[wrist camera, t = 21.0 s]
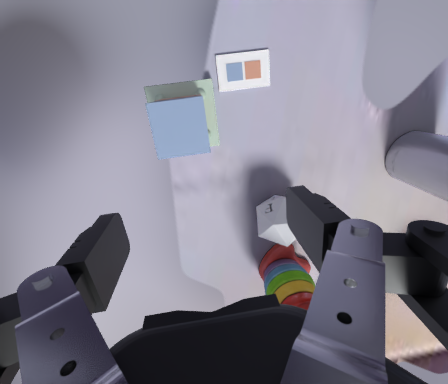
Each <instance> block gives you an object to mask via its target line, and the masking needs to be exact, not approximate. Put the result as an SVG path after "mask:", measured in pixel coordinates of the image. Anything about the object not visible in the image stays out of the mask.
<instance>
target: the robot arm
mask: <svg viewBox="0 0 448 384" xmlns="http://www.w3.org/2000/svg"><path fill="white" fill-rule="evenodd" d="M385 165H386V169H387V172H388V173H389V174H390V176H392V177H394V178H396V179H398V180H400V181H403V182H405V183H407V184H409V185H411V186H414V187H416V188H418V189H421V190H423V191H425V192H427V193H430V194H432V195H434V196H437V197H439V198H441V199H443V200H446V201H448V136H443V135H438V134H433V133H427V132H422V131H412V132H409V133H406V134H404V135H403V136H401V137H400V138H398V139H397V140H396V141H395V142H394V143H393V144H392V146H391V147H390V149H389V151H388V153H387V156H386V162H385ZM286 219H287V224H288V227H289V229H290V230H291V232H292V233H293V235H294V236H295V238H296V239H297V241H298V242H299V244H300V245H301V246H302V248H303V249H304V251H305V252H306V254H307V255H308V257H309V258H310V260H311V261H312V263H313V264H314V266H315V267H316V269H317V270H318V271H319V273H320V274H319V277H318V280H317V283H316V286H315V289H314V292H313V295H312V299H311V302H310V305H309V308H308V310H306V309H303V308H300V307H296V306H293V305H287V304H280V303H279V301H278V298H277V296H276V294H270V295H264V296H258V297H253V298H247V299H243V300H240V301H238V302H236V303H233V304H231V305H228V306H226V307H223V308H221V309H219V310H216V311H213V312H198V311H172V312H167V313H160V314H155V315H149V316H145V319H144V324H143V328H141V329H139V330H137V331H135V332H133V333H131V334H129V335H128V336H126V337H125V338H123V339H122V340H120V341H119V342H118V343H116V344H115V345H114V346H113V347H112V348H110V349H109V348H108V346H107V344H106V342H105V340H104V339H103V337H102V335H101V333H100V331H99V329H98V327H97V325H96V323H95V321H94V319H93V318H92V316H91V315H92V313H97V312H102V311H106V309H107V307H108V304H109V302H110V299H111V297H112V294H113V292H114V289H115V287H116V285H117V282H118V279H119V277H120V275H121V272H122V270H123V267H124V265H125V262H126V260H127V257H128V255H129V252H130V244H129V240H128V236H127V234H126V230H125V227H124V224H123V221H122V218H121V216H120V214H119V213H112V214H105V215H101V216H99V218H98V219H97V220H96V222H95V223H94V224H93V225H92V227H89V228H88V229H87V230H85V231H84V232H83V233H81V234H80V235H79V236H78V238H77V239H76V240H75V243H73V244H72V245H71V246H70V249H68V250H67V251H66V253H65V254H64V255H63V256H62V258H61V259H60V260H59V261H58V262H57V264H56V265H55V266H51V267H47V268H44V269H42V270H40V271H38V272H36V273H34V274H32V275H31V276H29V277H28V278H26V279H25V280H24V281H23V282H22V283H21V284H20V285H19V287H18V289H17V293H14V294H11V295H8V296H6V297H3V298H0V384H11V382H12V381H13V379H14V377H15V375H16V374H17V372H18V370H19V368H20V372H21V379H22V384H427V383H426V382H424V381H423V380H421V379H419V378H418V377H416V376H415V375H413V374H411V373H410V372H408V371H407V370H405V369H403V368H402V367H400V366H398V365H397V364H395V363H394V362H392V361H391V360H389V359H387V358H386V357H385V293H394V294H397V295H398V296H399V297H400V298H401V299H402V300H403V301H404V302H405V304H406V305H407V306H408V307H409V308H410V309H411V310H412V311H413V312H414V313H415V315H416V316H417V317H418V318H419V319H420V320H421V321H422V322H423V323H424V325H425V326H426V327H427V328H428V329H429V330H430V331H431V332H432V333H433V335H434V336H435V337H436V338H437V339H438V340H439V341H440V342H441V343H442V345H443V346H444V347H445V348H446V349H447V350H448V288H446V286H447V283H448V225H446V224H443V223H439V222H435V221H428V220H417V221H413V222H411V223H409V224H408V227H407V232H406V233H383V231H382V229H381V228H380V227H379V226H378V225H376V224H375V223H373V222H370V221H367V220H362V219H351V218H350V217H349V216H347V215H346V214H345V213H344V212H342V211H341V210H340V209H339V208H336V206H335V205H334V204H333V203H331V202H330V201H329V200H328V199H327V198H325V197H323V196H321V195H318V194H316V193H314V194H313V193H311V192H310V191H309V190H308V189H307V188H306V187H305V186H303V185H302V186H295V187H289V188H287V190H286Z"/></svg>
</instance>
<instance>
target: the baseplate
mask: <svg viewBox="0 0 448 384" xmlns="http://www.w3.org/2000/svg"><path fill="white" fill-rule="evenodd" d="M144 89H145V94H146V98H147V103H150V102H154V101H155V100H159V99H166V98H174V97H182V96H190V95H198V94H201V95H202V96H203V100H204V107H205V114H206V122H207V129H208V136H209V143H210V147H211V146H218V145H220V142H219V134H218V126H217V117H216V109H215V101H214V93H213V84H212V79H204V80H196V81H187V82H179V83H171V84H163V85H154V86H146V87H144Z"/></svg>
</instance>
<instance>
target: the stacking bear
mask: <svg viewBox="0 0 448 384" xmlns="http://www.w3.org/2000/svg"><path fill="white" fill-rule="evenodd" d="M310 269H311V267H310V264H309V263H308V261H307V260H305V259H301V258H298V257H297V256H296V255H295V252H294V247H293V245H292V244H290V245H289V246H288V247H286V246H284V245H281V244H278V243H277V244H276V245H275V246H273V247H272V248H271V249H270V250H269V251H268V252H267V253H266V255H265V256H264V258H263V259H262V261H261V264H260V267H259V273H260V276H261V278H262V279H263V281H264V287H265V293H266V295H270V294H276V296H277V298H278V301H279V303H280V304H287V305H293V306H296V307H300V308H303V309H306V310H308V308H309V305H310V302H311V299H312V295H313V292H314V289H315V284H314V281H313V279H312V278H311V276H310V275H309V272H310Z"/></svg>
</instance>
